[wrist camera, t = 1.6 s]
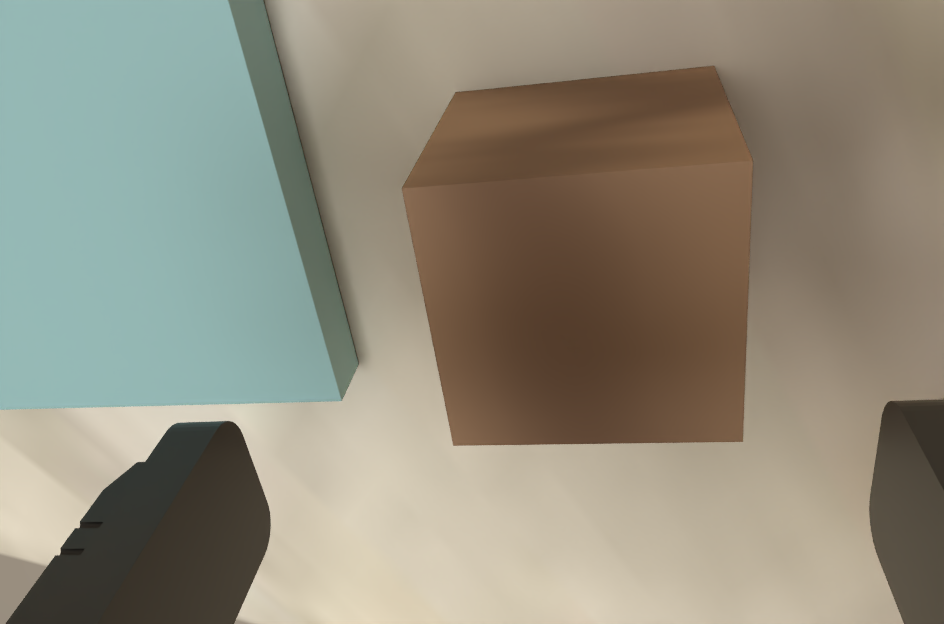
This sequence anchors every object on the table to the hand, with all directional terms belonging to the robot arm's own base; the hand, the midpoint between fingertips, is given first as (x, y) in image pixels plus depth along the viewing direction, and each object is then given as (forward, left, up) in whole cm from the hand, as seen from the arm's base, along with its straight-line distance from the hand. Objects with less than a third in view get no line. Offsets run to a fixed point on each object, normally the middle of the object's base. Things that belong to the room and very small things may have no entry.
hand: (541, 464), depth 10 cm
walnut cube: (0, 0, -8) cm, 8 cm away
